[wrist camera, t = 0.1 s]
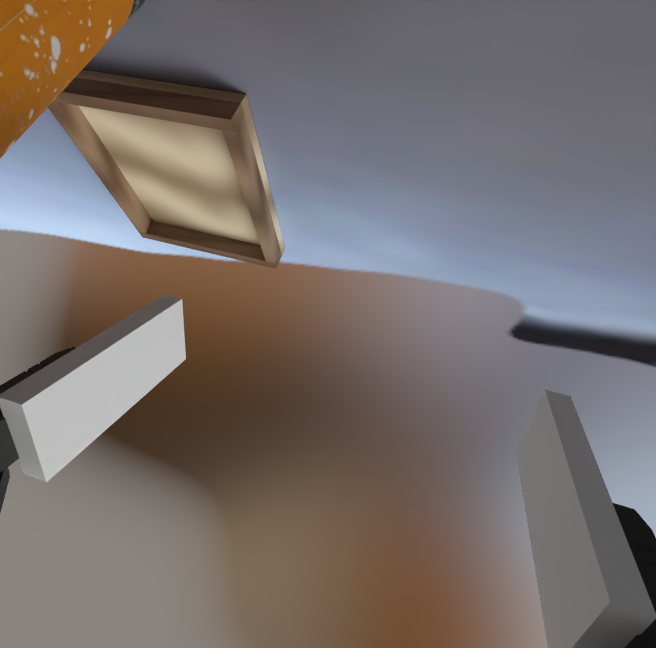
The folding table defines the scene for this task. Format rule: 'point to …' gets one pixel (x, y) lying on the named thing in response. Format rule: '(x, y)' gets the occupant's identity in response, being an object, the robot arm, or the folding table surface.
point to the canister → (48, 52)
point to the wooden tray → (176, 162)
